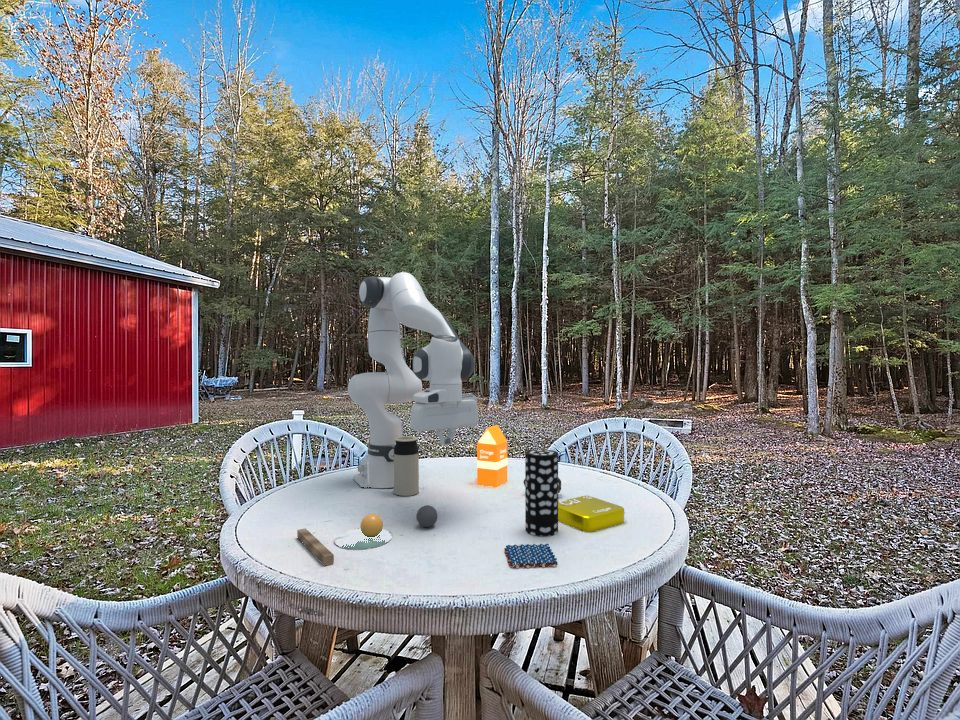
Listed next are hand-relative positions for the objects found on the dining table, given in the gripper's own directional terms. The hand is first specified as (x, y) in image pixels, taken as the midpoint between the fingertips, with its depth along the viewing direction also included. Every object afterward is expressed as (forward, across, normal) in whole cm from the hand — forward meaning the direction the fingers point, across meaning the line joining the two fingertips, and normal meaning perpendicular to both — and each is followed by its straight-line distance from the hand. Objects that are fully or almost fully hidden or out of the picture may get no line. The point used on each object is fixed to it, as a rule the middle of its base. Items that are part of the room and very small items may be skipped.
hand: (445, 444), depth 135 cm
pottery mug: (+21, -37, -1) cm, 42 cm away
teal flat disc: (+20, +24, 0) cm, 31 cm away
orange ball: (+18, +22, 0) cm, 28 cm away
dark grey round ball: (+18, +7, +2) cm, 19 cm away
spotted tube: (+20, -15, +22) cm, 34 cm away
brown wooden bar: (+20, +36, 0) cm, 41 cm away
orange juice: (+21, -33, -22) cm, 45 cm away
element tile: (+21, -31, +24) cm, 44 cm away
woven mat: (+21, -1, +33) cm, 39 cm away
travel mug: (+21, -3, -29) cm, 36 cm away
